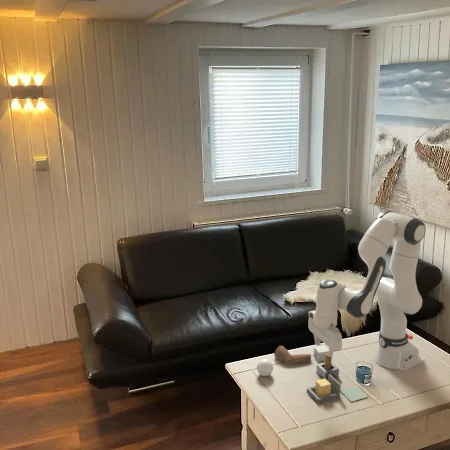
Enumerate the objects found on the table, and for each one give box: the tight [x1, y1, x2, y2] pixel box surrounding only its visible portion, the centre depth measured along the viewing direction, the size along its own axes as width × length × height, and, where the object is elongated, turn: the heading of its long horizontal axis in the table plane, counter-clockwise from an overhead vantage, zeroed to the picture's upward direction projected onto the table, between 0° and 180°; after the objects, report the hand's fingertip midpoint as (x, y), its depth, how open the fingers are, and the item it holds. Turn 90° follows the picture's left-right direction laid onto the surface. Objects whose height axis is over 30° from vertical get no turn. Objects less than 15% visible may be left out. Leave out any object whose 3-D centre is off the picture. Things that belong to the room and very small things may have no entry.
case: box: [306, 374, 342, 404], centre depth 216 cm, size 11×9×6 cm
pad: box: [340, 386, 368, 403], centre depth 217 cm, size 8×8×1 cm
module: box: [314, 378, 331, 398], centre depth 216 cm, size 4×4×6 cm
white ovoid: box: [252, 358, 274, 377], centre depth 230 cm, size 10×7×7 cm
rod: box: [323, 353, 333, 370], centre depth 230 cm, size 3×3×10 cm
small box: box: [313, 345, 330, 363], centre depth 244 cm, size 6×6×5 cm
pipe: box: [273, 345, 312, 365], centre depth 243 cm, size 6×17×10 cm
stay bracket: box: [316, 361, 340, 381], centre depth 230 cm, size 7×7×4 cm
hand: (323, 350), depth 212 cm, fingers open, 8 cm apart
